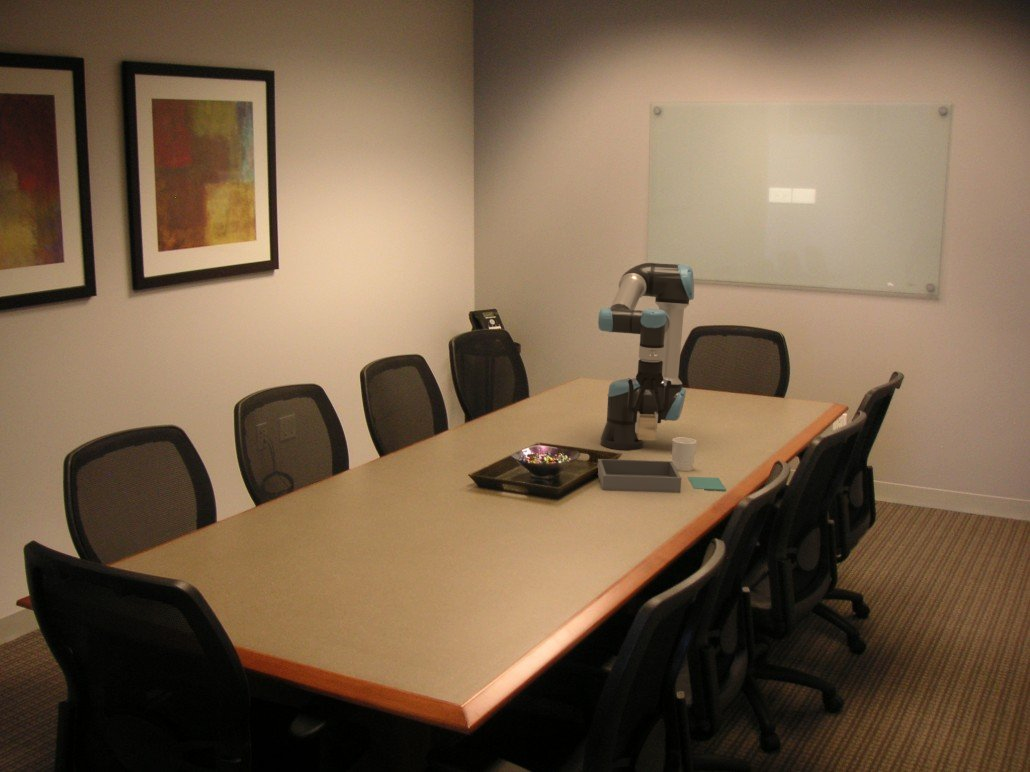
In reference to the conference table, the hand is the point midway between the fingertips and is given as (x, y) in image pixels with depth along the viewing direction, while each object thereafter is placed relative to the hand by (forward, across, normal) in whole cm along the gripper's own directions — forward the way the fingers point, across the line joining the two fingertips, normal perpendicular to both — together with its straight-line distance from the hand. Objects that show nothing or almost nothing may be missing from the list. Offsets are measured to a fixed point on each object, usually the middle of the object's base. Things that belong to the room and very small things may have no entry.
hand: (645, 432), depth 343 cm
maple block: (+2, 0, 0) cm, 2 cm away
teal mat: (+17, +20, +1) cm, 27 cm away
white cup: (+17, +15, +17) cm, 28 cm away
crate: (+17, -2, 0) cm, 17 cm away
